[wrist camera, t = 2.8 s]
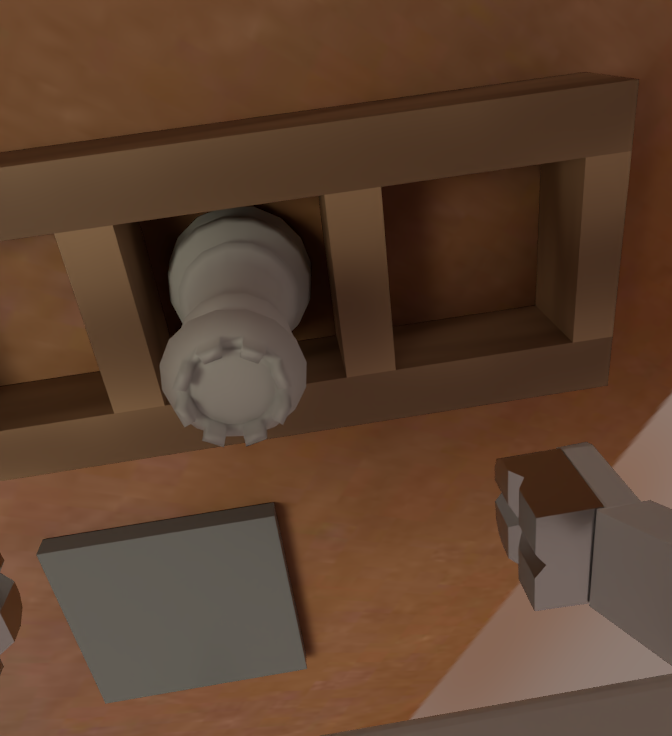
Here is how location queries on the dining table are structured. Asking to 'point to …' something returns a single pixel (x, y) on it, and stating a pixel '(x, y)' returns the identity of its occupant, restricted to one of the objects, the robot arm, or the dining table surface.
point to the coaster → (178, 601)
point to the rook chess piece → (236, 324)
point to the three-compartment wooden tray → (343, 254)
